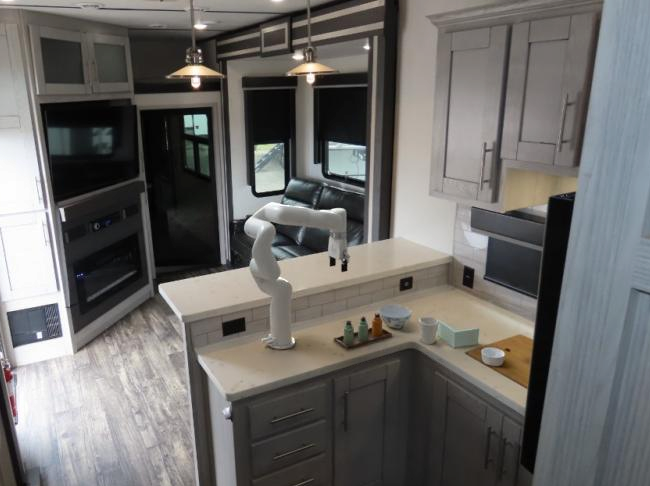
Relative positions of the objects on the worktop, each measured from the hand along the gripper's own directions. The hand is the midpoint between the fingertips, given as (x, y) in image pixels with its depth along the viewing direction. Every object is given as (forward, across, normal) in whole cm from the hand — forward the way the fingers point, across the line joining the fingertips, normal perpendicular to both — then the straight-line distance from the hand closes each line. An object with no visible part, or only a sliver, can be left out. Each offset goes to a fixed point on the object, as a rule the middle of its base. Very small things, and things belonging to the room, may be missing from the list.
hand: (338, 268), depth 245 cm
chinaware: (+28, +17, +21) cm, 39 cm away
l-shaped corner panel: (+28, +43, +35) cm, 62 cm away
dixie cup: (+28, +37, +23) cm, 52 cm away
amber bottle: (+28, +21, +7) cm, 36 cm away
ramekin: (+28, +64, +32) cm, 77 cm away
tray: (+28, +21, -1) cm, 35 cm away
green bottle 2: (+28, +21, -1) cm, 35 cm away
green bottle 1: (+28, +21, -9) cm, 36 cm away
